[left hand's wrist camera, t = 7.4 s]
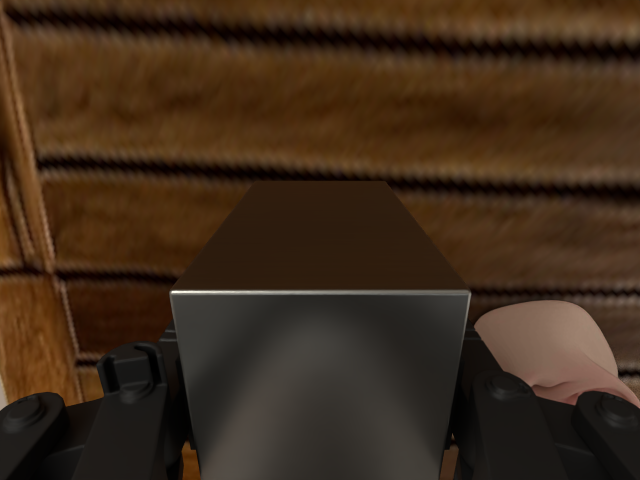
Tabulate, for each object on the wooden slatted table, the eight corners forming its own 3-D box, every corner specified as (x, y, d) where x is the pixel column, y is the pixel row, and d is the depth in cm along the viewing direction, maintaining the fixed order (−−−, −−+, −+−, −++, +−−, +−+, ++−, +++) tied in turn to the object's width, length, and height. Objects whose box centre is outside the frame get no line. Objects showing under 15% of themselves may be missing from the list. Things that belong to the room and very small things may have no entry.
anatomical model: (464, 360, 26) (631, 295, 24) (445, 327, 29) (589, 269, 28) (516, 477, 30) (662, 429, 28) (495, 435, 34) (622, 391, 32)
